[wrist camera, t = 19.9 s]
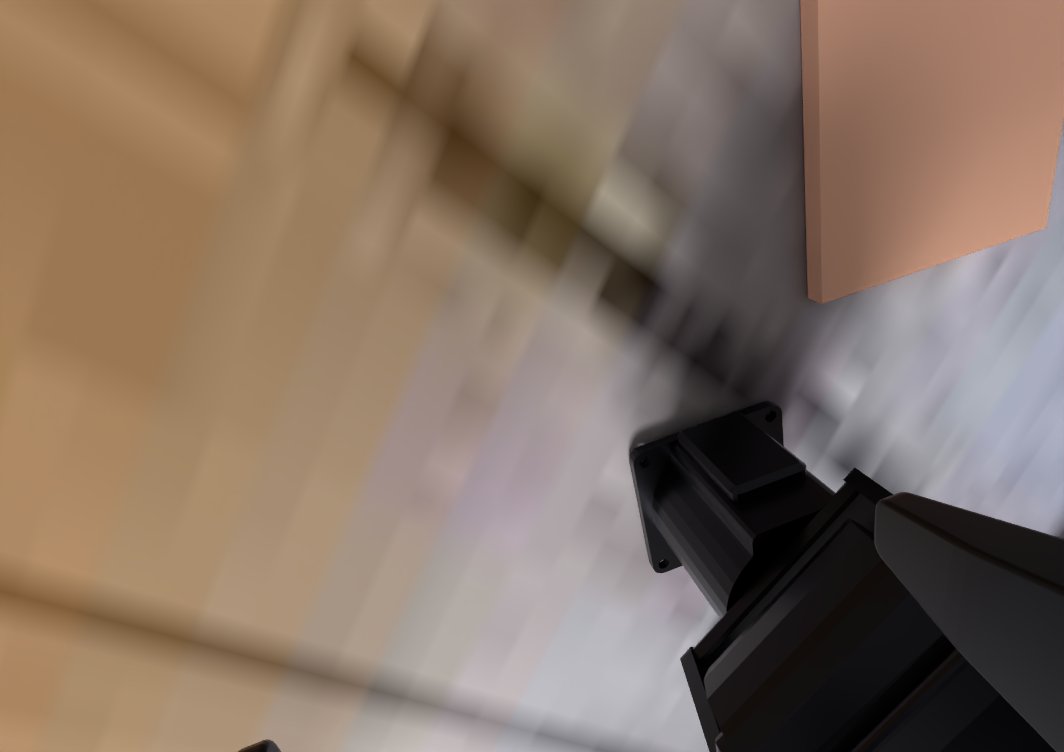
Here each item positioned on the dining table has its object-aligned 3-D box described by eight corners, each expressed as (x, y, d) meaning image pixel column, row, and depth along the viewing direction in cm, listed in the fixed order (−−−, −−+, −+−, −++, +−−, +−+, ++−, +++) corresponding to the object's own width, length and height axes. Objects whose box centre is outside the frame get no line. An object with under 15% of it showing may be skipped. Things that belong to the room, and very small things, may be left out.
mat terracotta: (1026, 224, 24) (1046, 227, 23) (808, 298, 23) (822, 304, 22) (1068, -73, 20) (1095, -80, 19) (800, -2, 18) (817, -6, 18)
